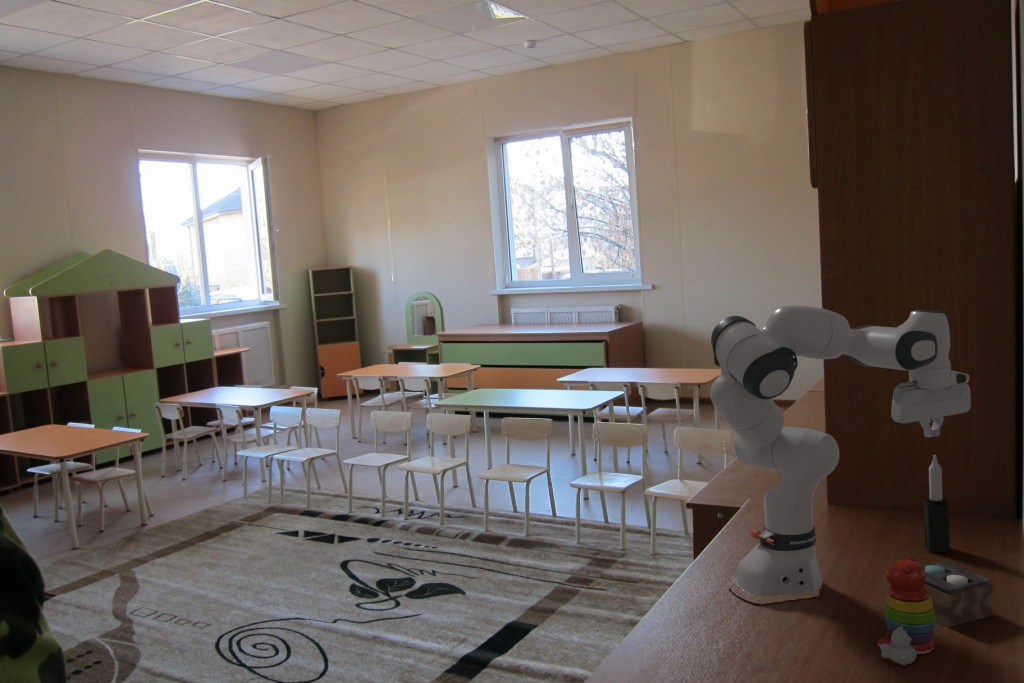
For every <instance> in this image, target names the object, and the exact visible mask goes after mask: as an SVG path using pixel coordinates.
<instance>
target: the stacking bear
mask: <svg viewBox="0 0 1024 683" xmlns="http://www.w3.org/2000/svg"><path fill="white" fill-rule="evenodd" d="M884 573H885V578H886V580H887V582H888V583H889V584H890V585H891V586H890V587H889V588H888V589H887V590H888V591H887V595H886V598H885V603H884V608H883V609H884V610H883V613H884V619H885V623H886V628H887V629H886V632H887V631H888V634H887V633H886V634H885V635H884V636H882V637H880V638H879V639H878V641H877V644H878V643H879V644H880V645H881V644H889V645H890V643H891V642H892V641H891V636H892V633H893V632H894V631H895V630H896V629H897V628H898V627H901V626H903V630H905V631H906V632H907V634H908V636H909V637H910V638H911V639H912V640H911V641H910V645H911V646H912V647H913V648H914V649H915V650H916V651H920V652H921V651H926V650H930V649H932V648H934V646H935V647H936V642H935V640H934V638H933V634H934V630H935V627H936V621H935V620H936V619H935V610H934V607H933V602H932V599H931V596H930V595H929V594H928V592H927V591H926V590H925V589H924V588H923V586H924V584H925V579H926V573H925V570H924V569H923V567H922V564H920V563H919V562H917V561H916V560H915V558H913V557H912V556H909V557H908V559H905V558H904V559H899V560H897V561H896V562H895V563H894V564H893V565H892V566H891V567H890V568H889V569H887V570H886V571H885V572H884Z"/></svg>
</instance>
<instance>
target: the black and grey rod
mask: <svg viewBox="0 0 1024 683" xmlns="http://www.w3.org/2000/svg"><path fill="white" fill-rule="evenodd" d="M942 471H943V469H942V466H940V464H939V461H938V459H937V455H936V454H934V455H932V461H931V464H930V466H929V467H928V484H929V485H928V487H929V488H928V489H929V490H928V491H929V496H927V497H926V498H924V499H923V512H924V544H925V546H926V547H927V548H928V549H927V548H926V547H925V546H924V547H925V548H926V549H927V551H928V552H929V551H930V552H929V553H931V552H949V551H950V552H951V538H950V536H951V535H950V534H951V533H950V503H949V502H948V501H947V499H946V498H945V497H943V475H942V474H943V473H942ZM950 552H949V553H950Z"/></svg>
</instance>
